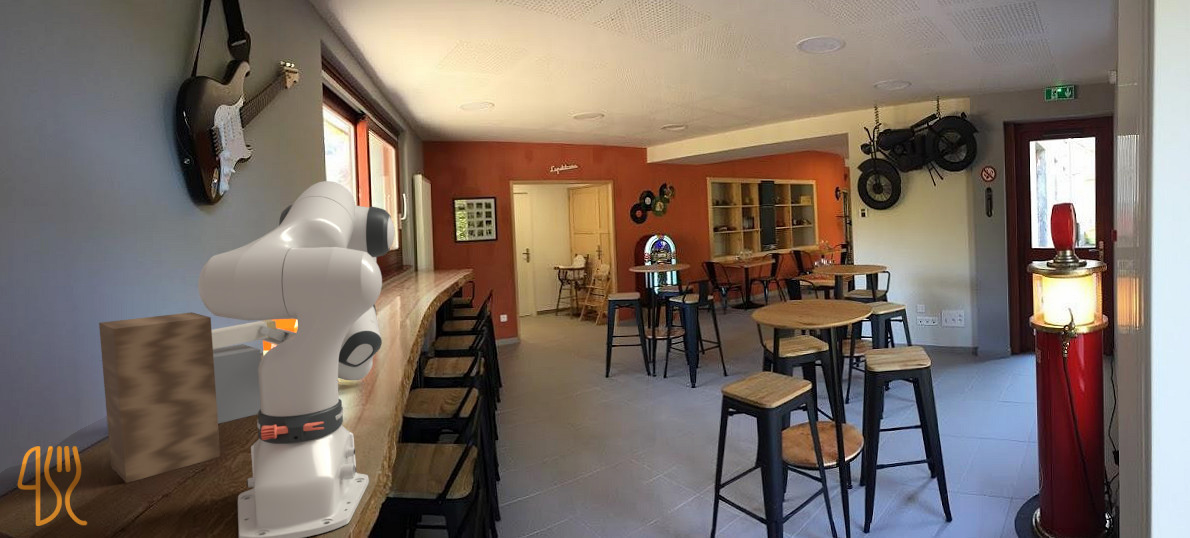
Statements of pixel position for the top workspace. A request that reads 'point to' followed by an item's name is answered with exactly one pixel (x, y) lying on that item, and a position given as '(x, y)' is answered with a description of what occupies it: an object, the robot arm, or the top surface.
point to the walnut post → (159, 393)
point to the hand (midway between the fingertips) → (255, 327)
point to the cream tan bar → (240, 333)
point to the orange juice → (282, 324)
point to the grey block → (236, 381)
